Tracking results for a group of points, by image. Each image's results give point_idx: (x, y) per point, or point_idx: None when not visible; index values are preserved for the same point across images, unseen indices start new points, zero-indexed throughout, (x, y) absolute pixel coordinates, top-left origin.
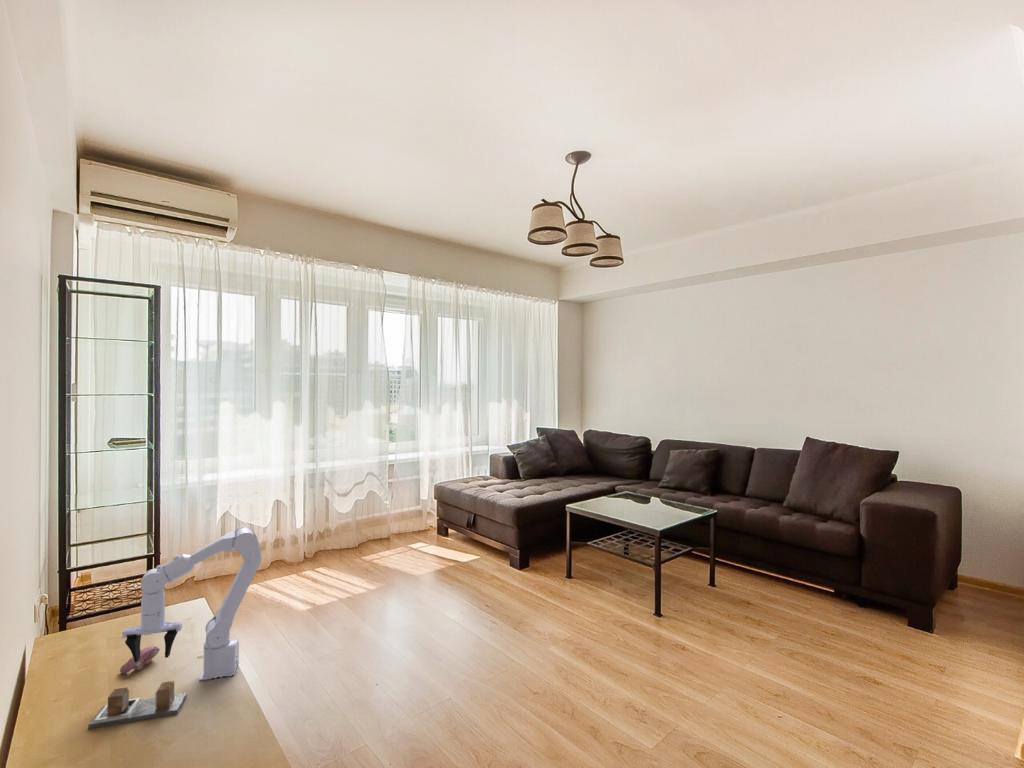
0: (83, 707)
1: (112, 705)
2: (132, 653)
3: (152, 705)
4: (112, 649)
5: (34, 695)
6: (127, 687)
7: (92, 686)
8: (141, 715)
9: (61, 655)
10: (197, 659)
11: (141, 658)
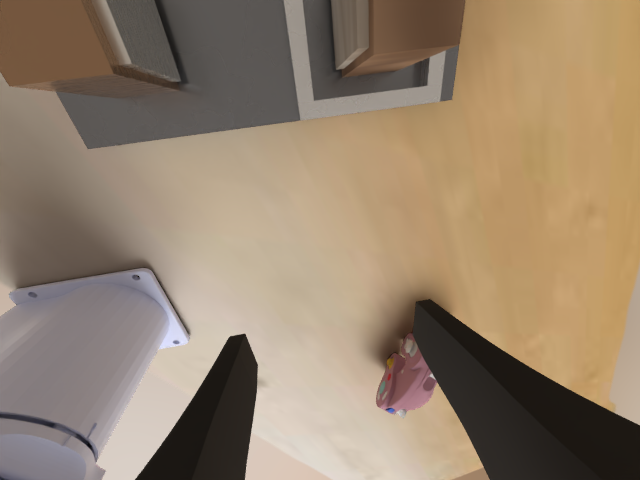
0: (511, 148)
1: None
2: (496, 347)
3: (199, 40)
4: None
5: (635, 245)
6: (373, 50)
7: (503, 271)
8: None
9: (576, 382)
10: None
11: (411, 366)
